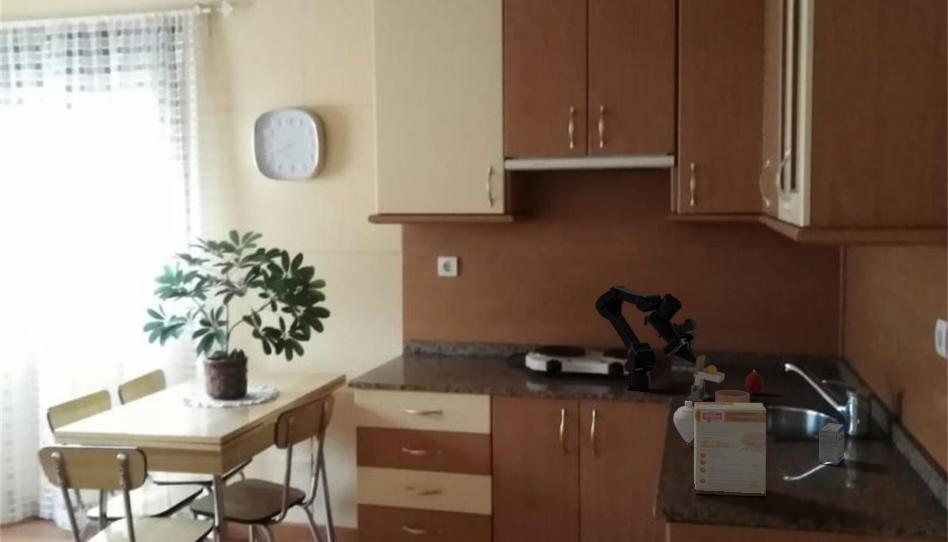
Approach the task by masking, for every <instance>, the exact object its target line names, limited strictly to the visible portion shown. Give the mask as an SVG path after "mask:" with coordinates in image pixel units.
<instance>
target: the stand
mask: <svg viewBox="0 0 948 542" xmlns="http://www.w3.org/2000/svg"><path fill="white" fill-rule="evenodd" d="M709 396H710V395H709V394H706V382H705V381H703V386H702V388H701V389H699V386H697V385H694V384H691V386H690V395H689V396H687V397H686V401H687V400H689V401H690V400H691V401H692V402H695V401H701V402H703V401H704V400H705V401H706V400H708V399H709V398H710V397H709ZM707 398H708V399H707ZM705 401H704V402H705Z"/></svg>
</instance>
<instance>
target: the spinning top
mask: <svg viewBox="0 0 948 542" xmlns="http://www.w3.org/2000/svg"><path fill="white" fill-rule="evenodd" d="M673 424H674V426H675V428H676V430H677V432H678V433H679V434H680V437H681V438H682V439H683V440H684V441H685V443H687V442H688V443H689V444H690V443H691V442H692V441H694V406H693V401H687V400H685V401H684V406H681V407H678V408H677V410H676V411H675V412H674V414H673ZM688 443H687V444H688Z"/></svg>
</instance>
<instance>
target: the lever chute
mask: <svg viewBox="0 0 948 542" xmlns="http://www.w3.org/2000/svg"><path fill="white" fill-rule="evenodd" d="M696 357H697V360H696V364H695V366H694V372H693V373H694V374H693V377H694V384H693V385H697V386H699V389H701V388H702V386H703V382H704V380H706V381H710V382H714V383H718V384H719V383H721V382H723V381H725V380H724V379H725V373H724V372H719V371H717V373H716V375H713V374H709V373H706V368H704V367H705V363H706V362H705V361H706V358H707V356H706V355H705V354H701V355H698V356H696Z"/></svg>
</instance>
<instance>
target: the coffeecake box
mask: <svg viewBox="0 0 948 542" xmlns="http://www.w3.org/2000/svg"><path fill="white" fill-rule="evenodd" d="M693 407H694V439H693V449H694V450H693V455H694V456H693V462H694V463H693V483H694V484H695V487H694V490H695V489H696V490H704V491H724V492H740V493H741V492H742V493H761V494H764V493H765V494H766V489H767V488H766V484H767V483H766V482H767V481H766V478H767V477H766V472H767V471H766V469H767V467H766V466H767V461H766V460H767V459H766V457H767V409H766V407H765V406H764V404H763V402H750V403H727V402H715V401H704V402H695V401H694V406H693ZM694 484H693V485H694Z"/></svg>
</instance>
